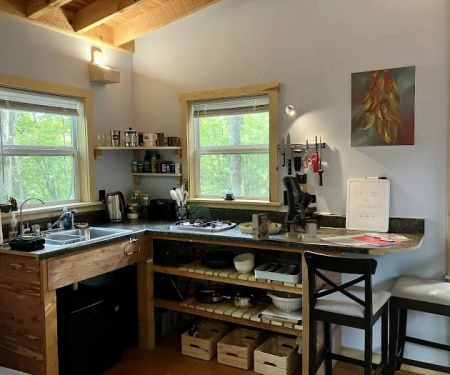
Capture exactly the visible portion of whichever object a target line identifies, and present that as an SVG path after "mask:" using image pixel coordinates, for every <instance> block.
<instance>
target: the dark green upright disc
mask: <svg viewBox="0 0 450 375" xmlns="http://www.w3.org/2000/svg"><path fill="white" fill-rule="evenodd" d="M196 202H199V200H195V201H194V204H192V203H189V205H188V206H187V212H188V213H189V216H188V223H190V224H194V223H195V224H196V220H197V219H198V218H203V219H204V220H205V223H206V222H211V223H212V218H213V217H212V211H211V209H210V206H209V205H208V204H204V203H202V204H200V205H198V204H196Z"/></svg>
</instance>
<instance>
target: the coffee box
mask: <svg viewBox="0 0 450 375" xmlns="http://www.w3.org/2000/svg"><path fill="white" fill-rule="evenodd" d="M269 220H270V214H269V213H263V212H262V213H254V214H252V222H253V234H252V240H256V241H261V240H268V239H269V240H270V234H269Z"/></svg>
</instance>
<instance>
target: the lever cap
mask: <svg viewBox="0 0 450 375" xmlns="http://www.w3.org/2000/svg"><path fill="white" fill-rule="evenodd" d="M315 223H316V222H315ZM315 223H314V222H310V223H308V222H307V223H306V224H305V229H306V230H305V233H306V234H305V235H306V238H316V235H317V226H316V224H315Z"/></svg>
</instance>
